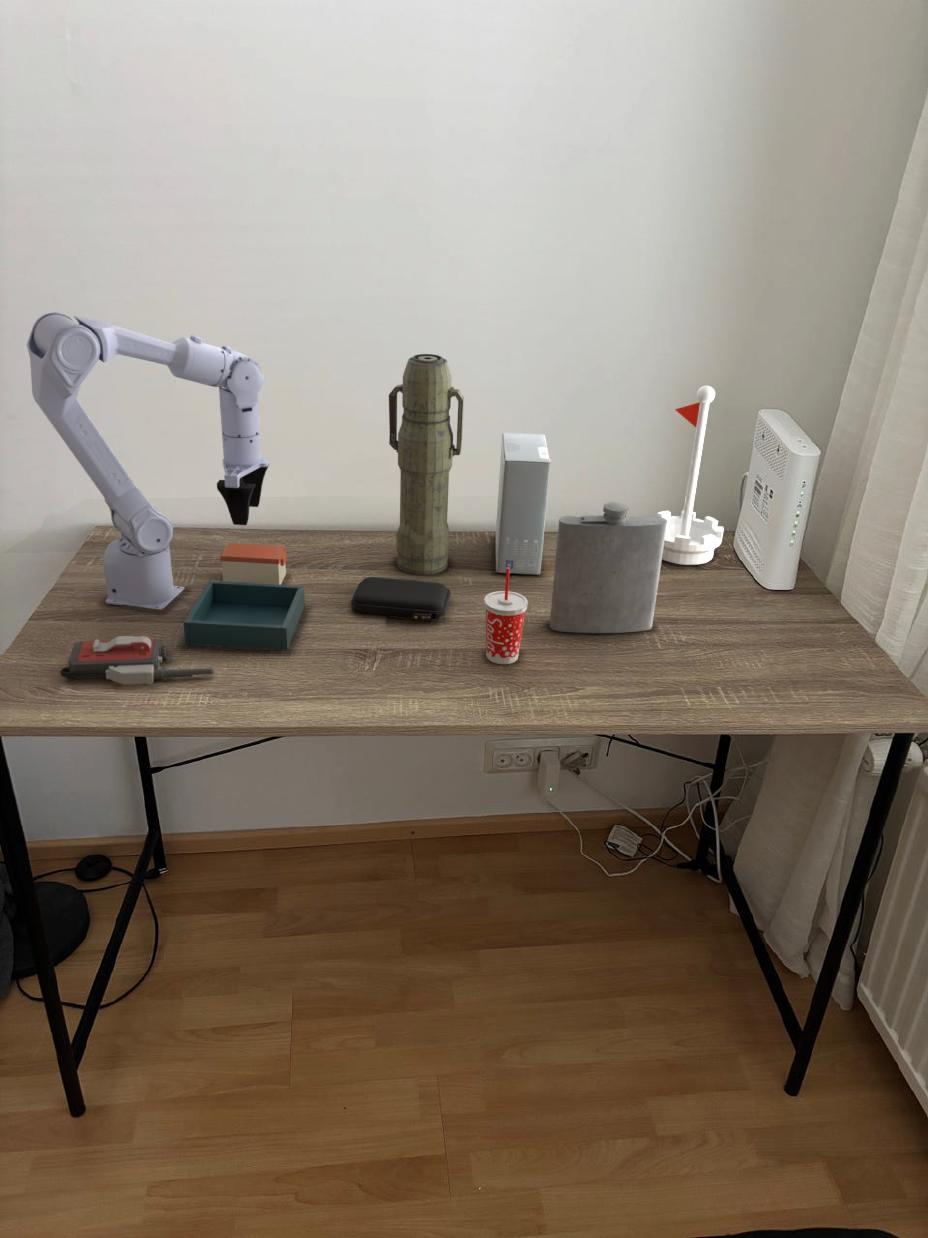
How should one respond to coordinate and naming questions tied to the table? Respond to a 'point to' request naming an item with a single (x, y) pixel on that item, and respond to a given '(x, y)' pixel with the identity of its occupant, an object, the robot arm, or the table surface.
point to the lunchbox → (254, 563)
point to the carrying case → (401, 598)
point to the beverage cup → (504, 624)
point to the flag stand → (692, 500)
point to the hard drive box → (522, 503)
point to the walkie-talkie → (123, 661)
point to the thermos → (424, 462)
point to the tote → (245, 615)
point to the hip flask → (607, 572)
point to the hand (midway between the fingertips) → (246, 514)
